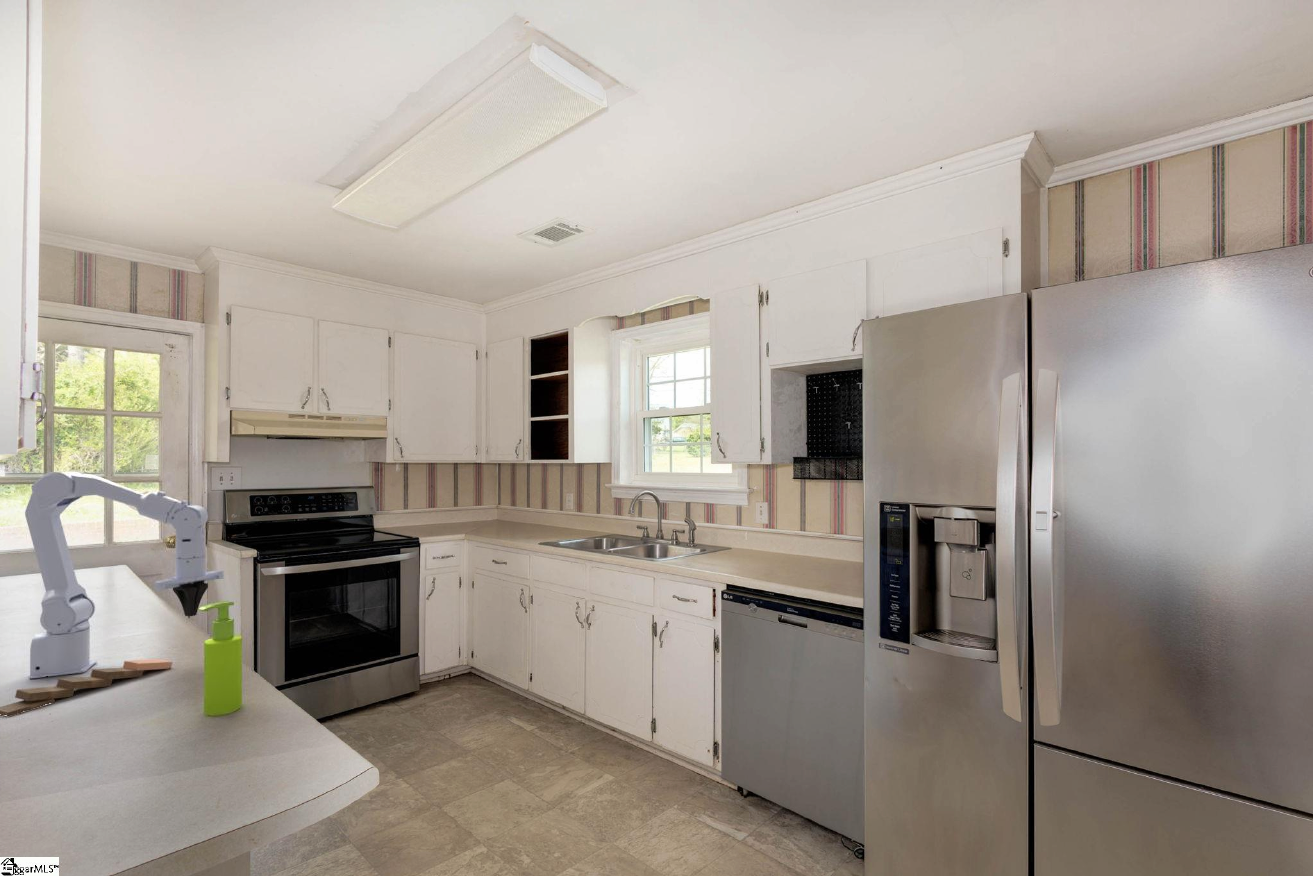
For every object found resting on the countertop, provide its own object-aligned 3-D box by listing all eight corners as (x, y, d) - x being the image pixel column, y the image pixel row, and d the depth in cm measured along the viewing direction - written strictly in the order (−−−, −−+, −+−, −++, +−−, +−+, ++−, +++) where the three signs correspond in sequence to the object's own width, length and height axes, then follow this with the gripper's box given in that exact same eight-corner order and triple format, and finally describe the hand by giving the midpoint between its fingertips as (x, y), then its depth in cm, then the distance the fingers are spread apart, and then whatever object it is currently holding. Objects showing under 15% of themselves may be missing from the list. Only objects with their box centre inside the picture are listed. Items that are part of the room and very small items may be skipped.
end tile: (54, 706, 127) (7, 720, 121) (39, 703, 129) (-8, 716, 123) (54, 699, 127) (7, 712, 121) (39, 695, 129) (-8, 709, 123)
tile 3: (110, 686, 136) (71, 689, 130) (96, 683, 138) (56, 686, 132) (112, 678, 137) (73, 682, 130) (97, 676, 139) (58, 678, 132)
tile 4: (72, 696, 130) (28, 701, 124) (59, 693, 133) (14, 697, 126) (74, 689, 131) (30, 693, 125) (61, 685, 133) (16, 689, 127)
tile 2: (141, 676, 142) (105, 679, 136) (126, 674, 144) (90, 676, 138) (143, 669, 142) (106, 672, 136) (128, 667, 144) (92, 669, 138)
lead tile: (170, 668, 147) (137, 670, 141) (156, 665, 149) (122, 667, 143) (172, 661, 148) (139, 663, 141) (158, 659, 149) (124, 660, 143)
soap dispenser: (191, 714, 121) (191, 605, 121) (230, 701, 127) (230, 597, 128) (209, 720, 118) (209, 608, 119) (248, 706, 124) (248, 600, 125)
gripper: (169, 563, 146) (169, 624, 146) (232, 553, 160) (232, 609, 159) (148, 561, 149) (148, 622, 148) (211, 551, 162) (212, 607, 162)
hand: (190, 615), depth 154 cm, fingers closed
